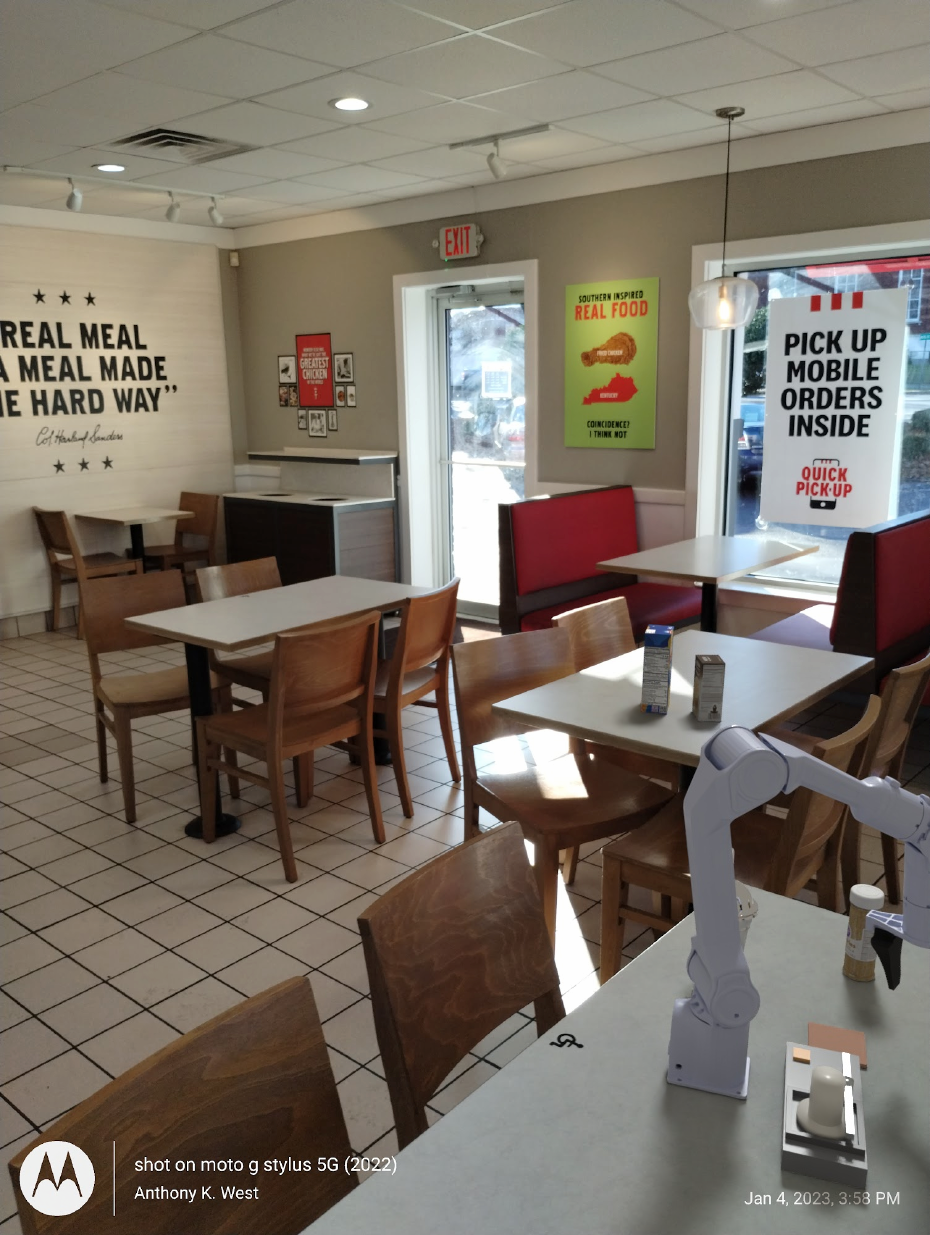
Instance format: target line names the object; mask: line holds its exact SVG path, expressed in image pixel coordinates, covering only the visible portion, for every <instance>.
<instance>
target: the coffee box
mask: <svg viewBox="0 0 930 1235" xmlns="http://www.w3.org/2000/svg"><path fill="white" fill-rule="evenodd" d="M694 658H695V659H694V671H693V674H694V676H693V690H692V703H691V704H692V705H691V706H692V707H691V710H692V713H693V714H694V716H695V718H696V720H697V722H722V716H723V702H724V700H723V699H724V690H725V678H726V677H725V675H726V662H725V661H724V660H723V659H722V657H721V656H720V654H695V657H694Z"/></svg>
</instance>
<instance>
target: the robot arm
mask: <svg viewBox="0 0 930 1235" xmlns="http://www.w3.org/2000/svg"><path fill="white" fill-rule="evenodd" d="M757 734H758V735H759V737H760V738H761V740H760V739H759V738H758V737H757V735H756V734H755V733H754V732H753V731H752V730H751V729H750V728H748V727H746V726H744V725H740V724H730V725H726V726H723V727H722V728H720V729H719V730H718V731H716V732H715V733H714V734H713V735H712V736H711V737H710V738H709V739H708V740H707V741H706V742H704V743H703V745H701V747H700V752H699V755H700V756H699V762H698V766H697V767H696V770H695V773H694V775H693V778H692V780H691V782H690V785H689V786H688V789H687V791H686V793H685V796H684V799H683V804H682V805H683V806H682V807H683V816H684V817H683V818H684V826H685V837H686V848H687V856H688V865H689V866H688V867H689V876H690V885H691V894H692V904H693V906H692V907H693V913H694V914H693V915H694V923H695V925H694V926H695V931H696V932H695V933H694V934H693V935H692V936H691V937H690V943H691V949H690V953H689V955H688V957H687V960H686V966H685V968H686V972H687V975H688V977H689V979H690V980H691V981H692V982H693V990H692V994H691V996H690V998H689V997H688V998H675V1000H674V1004H673V1010H672V1015H671V1024H670V1025H671V1026H670V1037H669V1038H670V1039H669V1040H668V1041H669V1042H668V1048H667V1055H668V1068H667V1070H668V1071H667V1077H666V1082H668V1083H669V1084H673V1085H677V1086H682V1087H685V1088H686V1087H687V1088H690V1089H691V1088H692V1089H696V1090H699V1091H700V1090H701V1091H704V1092H709V1093H713V1094H718V1095H722V1096H727V1097H732V1098H737V1099H741V1100H746V1099H748V1090H749V1081H750V1080H749V1079H750V1078H749V1077H750V1070H751V1069H750V1067H751V1066H750V1065H751V1058H750V1057H749V1056H748V1048H749V1038H750V1023H751V1021H752V1020H753V1019H754V1018H755V1017H756V1016H757V1014H758V1012H759V1010H760V1007H761V997H760V996H761V995H760V993H759V991H758V989H757V988H756V986H755V985H754V984H753V982H752V980H751V973H750V972H751V971H750V968H749V964H748V961H747V959H746V955H745V953H744V952H745V951H744V952H743V949H742V946H741V941H740V930H739V919H738V908H737V897H736V887H735V880H736V878H735V868H734V867H735V866H734V864H733V854H732V848H733V846H732V835H731V834H732V833H731V823H732V822H733V821H734V820H735V819H737V818H739V817H741V816H743V815H744V814H746V813H748V812H750V811H752V810H753V809H755V808H757V807H759V806H761V805H763V804H765V803H766V802H769V801H770V800H772V799H773V798H775V797H776V796H777V795H778V794H780V793H781V792H783V793H784V794H785V795H789V794H791V793H792V792H793V791H795V790H796V789H797V788H799V787H800V786H801V787H805V788H807V789H809V790H811V791H814V792H816V793H819V794H821V795H823V796H826V797H828V798H831V799H833V800H836V801H839V802H841V803H843V804H846V805H848V806H849V809H850V812H851V814H852V817H853V818H854V819H855V820H856V821H858V822H860V823H862V824H864V825H866V826H868V827H871V828H872V829H875V830H877V831H880V833H881V832H882V833H884V834H885V835H888V836H890V837H893V838H895V839H896V840H898V841H902V842H904V855H903V856H904V858H903V859H904V860H903V889H902V890H903V893H902V914H898V913H890V912H882V911H881V912H879V911H875V910H871V911H870V912H869V913H868V914H867V915H866V929H867V930H870V931H874V936H873V937H872V938H871V946H872V947H873V949H874V950H875V952H876V953H877V957H878V959H879V961H880V963H881V966H882V968H883V972H884V974H885V978H886V983H887V987H888V989H889V990H891V991H895V990H896V989H897V987H898V986H899V985H900V984H901V979H902V978H901V976H902V974H901V973H902V963H901V962H902V961H901V960H902V951H903V950H902V948H903V942H904V941H906V942H907V943H909V944H910V945H914V946H916V947H919V948H923V949H928V950H930V797H929V796H928V795H926V794H923V793H921V794H920V795H916V794H915V793H912V792H910V791H908V790H906V789H904V788H902V787H901V785H902V784H901V783H900V782H899V781H898V780H897V779H895V778H893V777H891V776H888V775H886V776H885V777H884V779H883V778H881V777H879V776H875V775H874V776H868V777H866V778H864V779H862V780H860V779H857V778H856V777H854V776H852V775H850V774H849V773H846V772H845V771H842V770H840V769H838V768H837V767H835V766H833V765H831V764H829V763H827V762H825V761H823V760H821V759H819V758H817V757H815V756H813V755H811V754H810V753H807V752H806V751H804V750H802V749H800V748H799V747H796V746H795V745H793V744H789V743H787V742H784V741H783V740H780V739H778V738H776V737H773V736H771V735H769V734H767V733H763V732H757Z"/></svg>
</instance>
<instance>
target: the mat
mask: <svg viewBox="0 0 930 1235" xmlns="http://www.w3.org/2000/svg"><path fill="white" fill-rule="evenodd" d="M807 1026H808V1028H807V1029H808V1034H807V1035H808V1038H807V1043H808V1045H807V1046H812V1047H817V1048H822V1049H827V1050H832V1051H837V1052H843V1053H848V1054H852V1055H857V1056H859V1062H860V1068H863V1069H867V1068H868V1060H867V1049H866V1038H865V1036H866V1035H865V1032H863V1031H857V1030H854V1029H853V1030H852V1029H848V1028H847V1029H846V1028H842V1027H837V1026H833V1025H827V1024H822V1023H817V1022H812V1021H808V1025H807Z"/></svg>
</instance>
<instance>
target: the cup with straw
mask: <svg viewBox="0 0 930 1235" xmlns="http://www.w3.org/2000/svg"><path fill="white" fill-rule="evenodd" d="M732 854H733V865H734V864H735V862H734V861H735V849H734V848H733V847H732ZM735 887H736V897H737V908H738V919H739V930H740V941H741V946H742V949H743V952H745V947H746V942H747V939H748V938H747V937H748V933H749V932H748V931H749V929H750V927H751V924H752V922H753V919H754V918H756V917H757V916H758V914H759V912H760V911H759V910H760V909H759V905H758V902H757V901H756V900H755V899H754V898H753V895H752V893H751V890H750V889H749V888H748V887H747V886H746V884H744V883H743V882H741V881H739V880H738V879H735Z"/></svg>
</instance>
